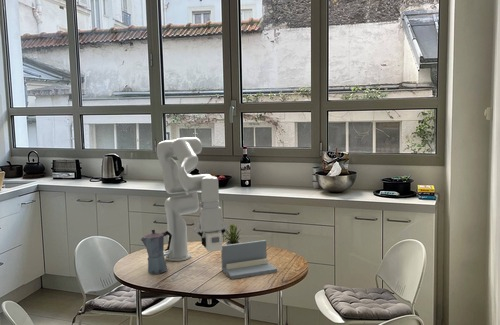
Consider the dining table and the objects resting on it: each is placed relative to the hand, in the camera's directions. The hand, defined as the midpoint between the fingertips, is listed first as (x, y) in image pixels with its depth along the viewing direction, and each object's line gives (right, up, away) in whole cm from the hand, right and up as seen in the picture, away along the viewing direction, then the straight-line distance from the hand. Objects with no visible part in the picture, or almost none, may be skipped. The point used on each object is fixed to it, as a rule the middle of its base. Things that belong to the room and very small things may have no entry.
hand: (211, 244), depth 207 cm
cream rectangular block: (0, -1, 0) cm, 1 cm away
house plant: (+7, -11, +38) cm, 40 cm away
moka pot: (-26, -15, +14) cm, 33 cm away
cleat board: (+16, -14, +11) cm, 24 cm away
